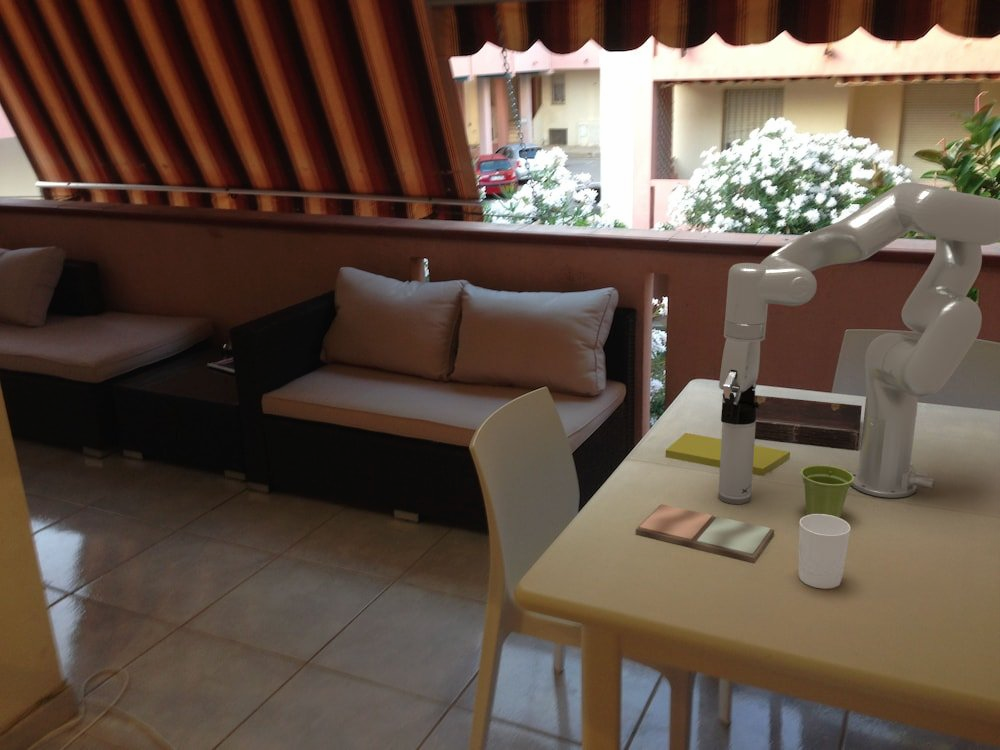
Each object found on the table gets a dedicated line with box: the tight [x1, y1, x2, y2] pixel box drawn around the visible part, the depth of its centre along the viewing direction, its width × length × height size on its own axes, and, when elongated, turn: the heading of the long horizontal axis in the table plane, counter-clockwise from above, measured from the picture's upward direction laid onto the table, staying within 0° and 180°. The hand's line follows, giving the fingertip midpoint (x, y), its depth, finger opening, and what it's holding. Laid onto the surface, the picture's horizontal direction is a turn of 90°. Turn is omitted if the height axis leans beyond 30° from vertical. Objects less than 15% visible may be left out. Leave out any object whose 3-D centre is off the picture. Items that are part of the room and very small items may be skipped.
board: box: [635, 504, 775, 564], centre depth 170 cm, size 22×12×1 cm, turn 59°
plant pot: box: [800, 464, 854, 518], centre depth 175 cm, size 9×9×9 cm
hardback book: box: [754, 394, 863, 452], centre depth 220 cm, size 29×19×5 cm, turn 68°
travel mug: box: [718, 401, 759, 505], centre depth 182 cm, size 6×7×20 cm
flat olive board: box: [665, 432, 791, 477], centre depth 205 cm, size 12×2×24 cm
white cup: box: [798, 514, 852, 590], centre depth 153 cm, size 8×8×10 cm
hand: (737, 415), depth 180 cm, fingers open, 9 cm apart
